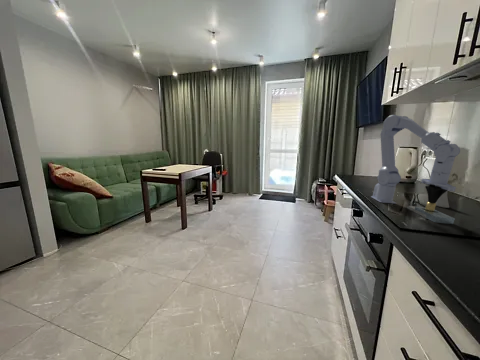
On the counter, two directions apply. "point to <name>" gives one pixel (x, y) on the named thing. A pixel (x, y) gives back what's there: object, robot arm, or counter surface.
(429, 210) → the yellow upright block
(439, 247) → the counter surface
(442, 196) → the flask
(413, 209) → the pale blue flat bar
